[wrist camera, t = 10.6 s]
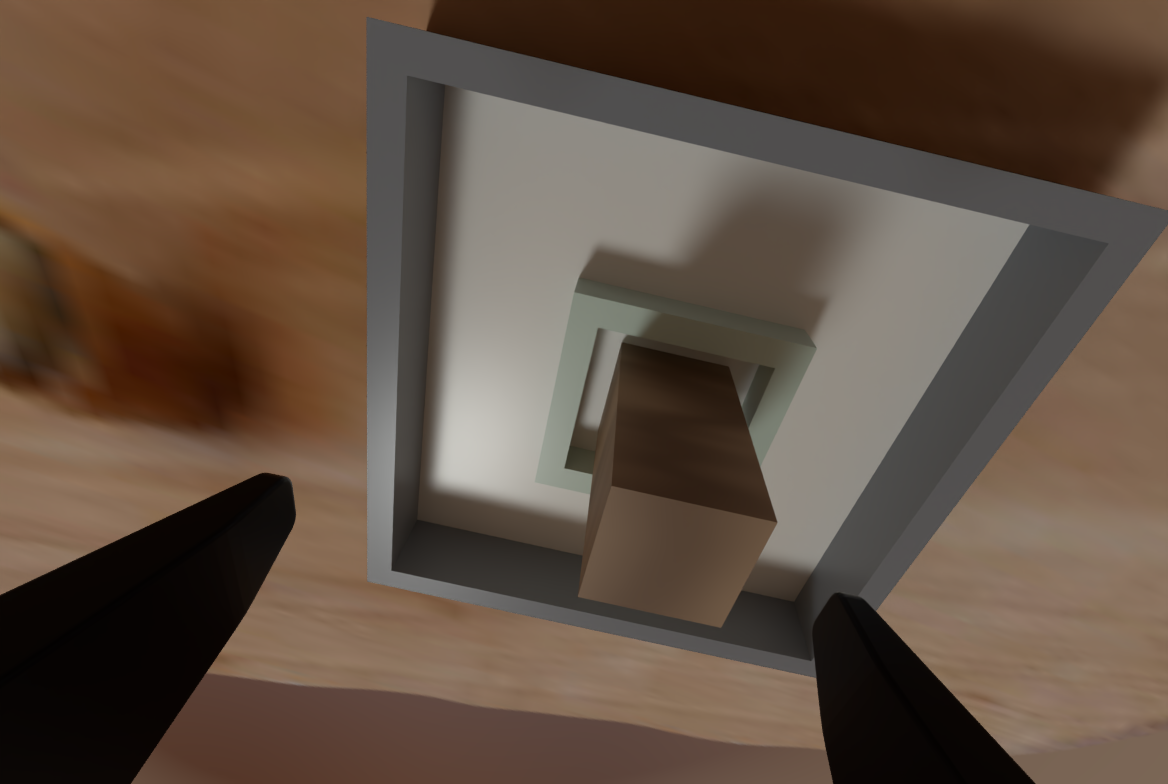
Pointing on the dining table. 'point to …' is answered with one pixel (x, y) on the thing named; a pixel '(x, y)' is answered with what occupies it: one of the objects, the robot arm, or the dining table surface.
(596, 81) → the walled box
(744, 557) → the peg
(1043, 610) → the dining table surface
